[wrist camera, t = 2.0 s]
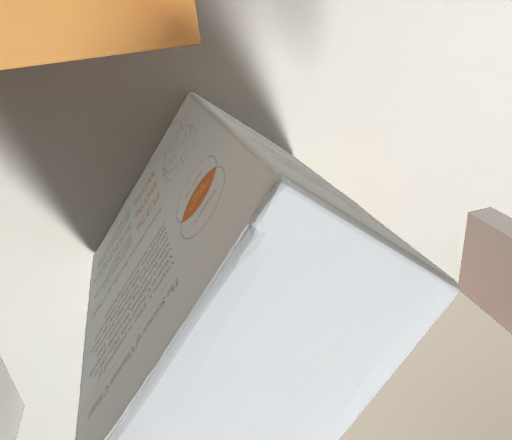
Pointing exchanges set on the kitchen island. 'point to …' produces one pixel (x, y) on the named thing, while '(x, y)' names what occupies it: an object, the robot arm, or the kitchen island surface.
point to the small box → (244, 296)
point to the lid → (91, 29)
